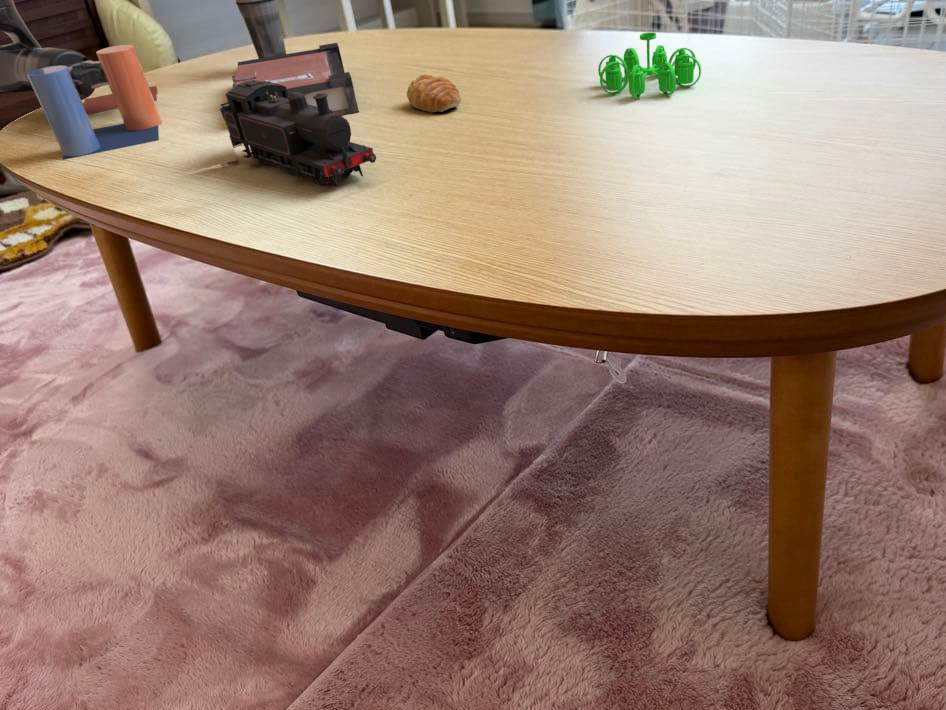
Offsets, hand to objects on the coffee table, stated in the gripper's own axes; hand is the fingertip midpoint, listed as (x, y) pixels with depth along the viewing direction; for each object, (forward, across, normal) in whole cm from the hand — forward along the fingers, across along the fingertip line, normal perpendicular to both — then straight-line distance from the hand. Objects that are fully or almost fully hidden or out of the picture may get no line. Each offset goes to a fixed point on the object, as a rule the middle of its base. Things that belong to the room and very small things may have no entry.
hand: (110, 81), depth 122 cm
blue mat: (+6, -6, +7) cm, 10 cm away
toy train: (+46, -1, +7) cm, 46 cm away
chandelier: (+69, +43, +7) cm, 81 cm away
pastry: (+44, +25, +7) cm, 51 cm away
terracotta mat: (-15, +7, +7) cm, 17 cm away
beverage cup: (-4, +32, +7) cm, 33 cm away
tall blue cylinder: (+8, -11, +6) cm, 15 cm away
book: (+18, +19, +7) cm, 27 cm away
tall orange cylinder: (+6, 0, +6) cm, 8 cm away
